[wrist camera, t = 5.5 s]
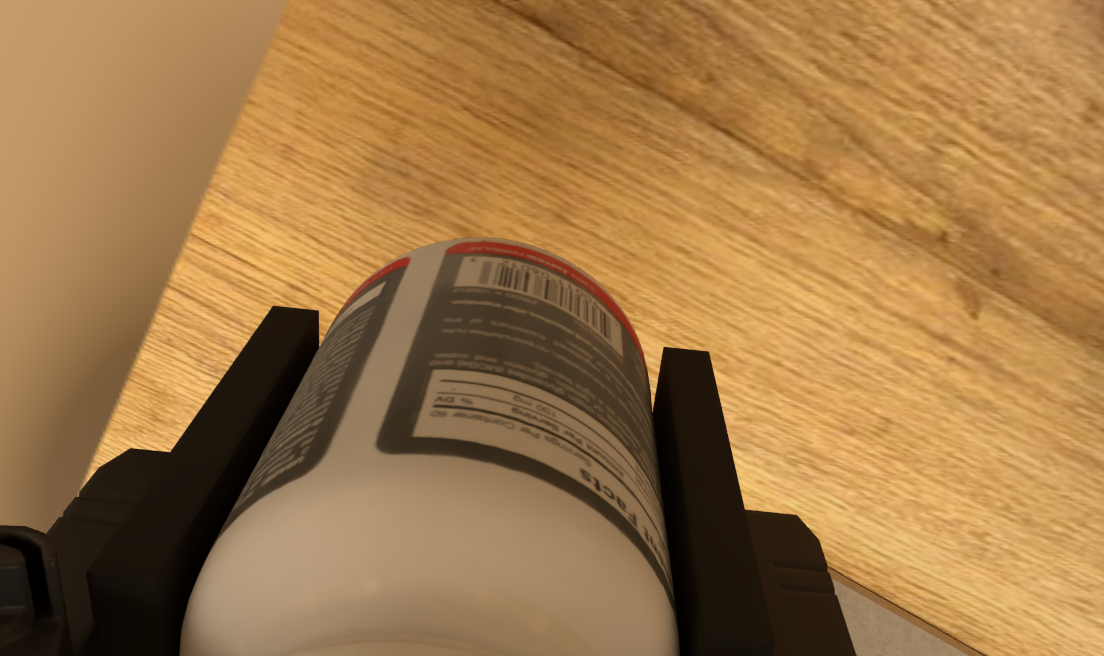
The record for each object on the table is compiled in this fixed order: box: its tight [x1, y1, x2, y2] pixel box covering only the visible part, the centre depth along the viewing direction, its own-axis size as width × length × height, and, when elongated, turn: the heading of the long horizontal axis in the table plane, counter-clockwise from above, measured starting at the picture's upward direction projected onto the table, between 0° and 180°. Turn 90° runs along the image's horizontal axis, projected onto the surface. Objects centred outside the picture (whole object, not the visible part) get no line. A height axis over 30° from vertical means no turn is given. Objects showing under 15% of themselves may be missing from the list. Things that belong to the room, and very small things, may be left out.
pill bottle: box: [179, 238, 680, 656], centre depth 13 cm, size 6×6×10 cm
